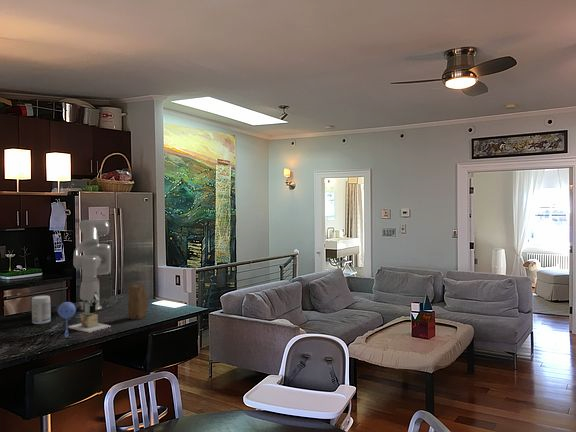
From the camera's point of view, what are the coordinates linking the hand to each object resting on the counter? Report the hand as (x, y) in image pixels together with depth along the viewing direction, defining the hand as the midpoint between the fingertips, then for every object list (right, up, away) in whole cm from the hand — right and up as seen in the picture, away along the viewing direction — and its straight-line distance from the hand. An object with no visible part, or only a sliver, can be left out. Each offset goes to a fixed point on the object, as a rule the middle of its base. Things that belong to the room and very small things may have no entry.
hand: (89, 311), depth 269 cm
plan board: (0, -9, 0) cm, 9 cm away
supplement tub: (-32, -8, +10) cm, 34 cm away
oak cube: (0, -8, 0) cm, 8 cm away
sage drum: (0, -1, 0) cm, 1 cm away
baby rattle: (-4, -9, -18) cm, 21 cm away
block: (+20, -8, +23) cm, 32 cm away
